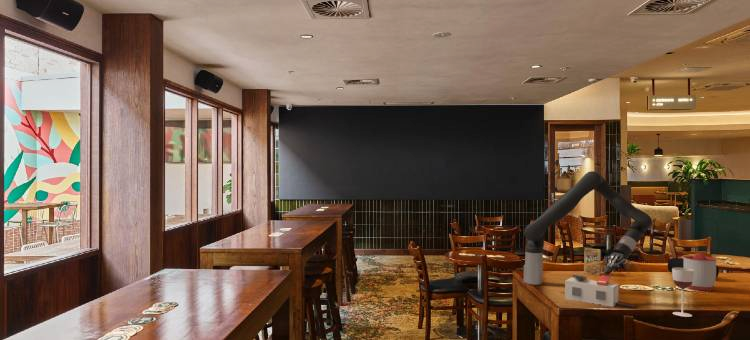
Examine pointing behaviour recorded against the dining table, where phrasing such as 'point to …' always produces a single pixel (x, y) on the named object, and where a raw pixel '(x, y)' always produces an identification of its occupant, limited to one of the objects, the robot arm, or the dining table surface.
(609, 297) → the switch box
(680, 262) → the portable speaker
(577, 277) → the black rocker
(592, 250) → the candy box
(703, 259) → the citrus juicer
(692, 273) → the wineglass
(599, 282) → the red rocker
